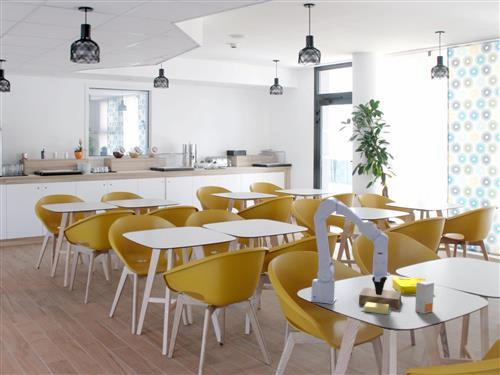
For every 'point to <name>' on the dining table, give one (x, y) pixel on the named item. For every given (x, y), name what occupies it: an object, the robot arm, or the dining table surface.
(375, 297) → the plate
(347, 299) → the dining table surface
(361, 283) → the dining table surface
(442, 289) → the dining table surface
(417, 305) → the skincare box
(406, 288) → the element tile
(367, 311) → the mat
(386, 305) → the yellow block
